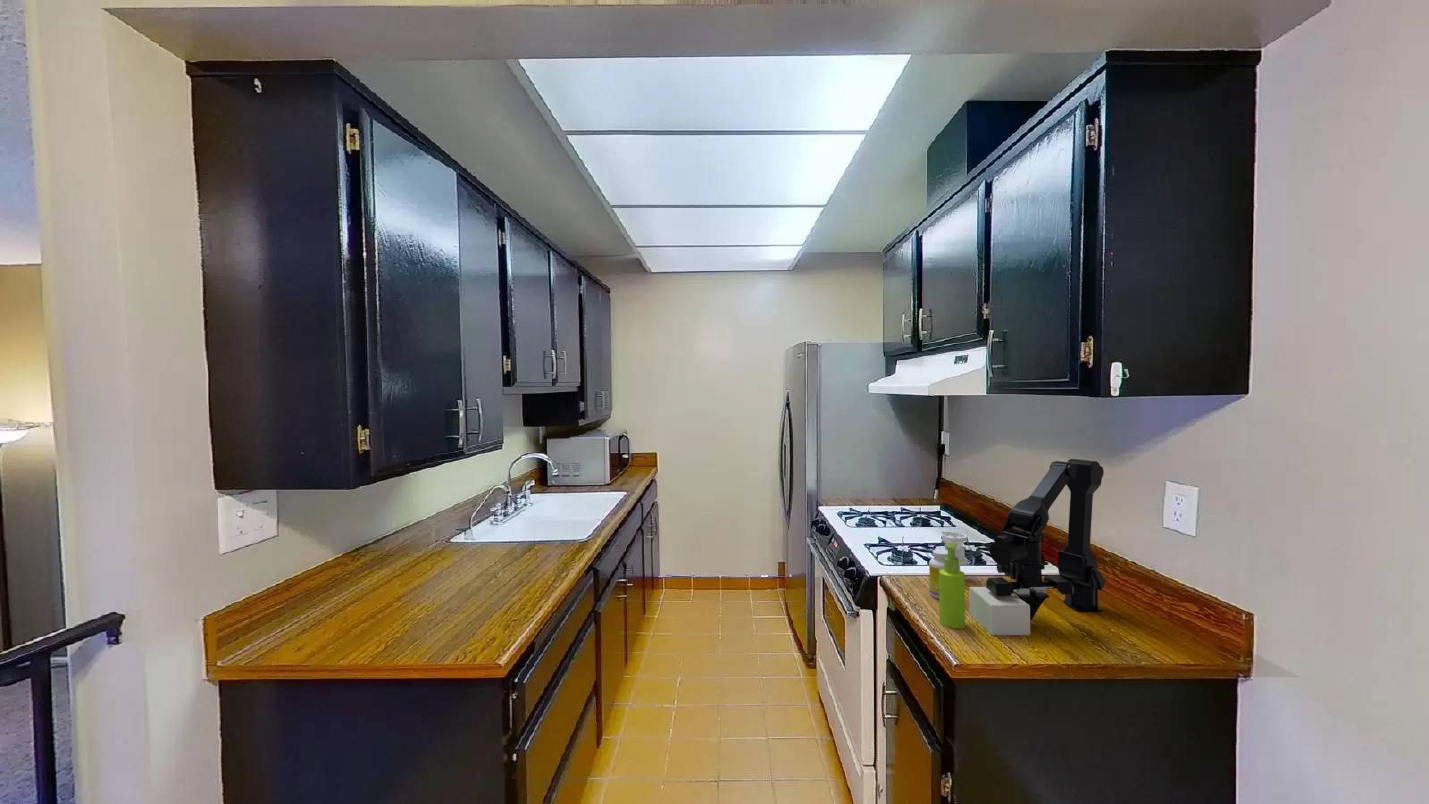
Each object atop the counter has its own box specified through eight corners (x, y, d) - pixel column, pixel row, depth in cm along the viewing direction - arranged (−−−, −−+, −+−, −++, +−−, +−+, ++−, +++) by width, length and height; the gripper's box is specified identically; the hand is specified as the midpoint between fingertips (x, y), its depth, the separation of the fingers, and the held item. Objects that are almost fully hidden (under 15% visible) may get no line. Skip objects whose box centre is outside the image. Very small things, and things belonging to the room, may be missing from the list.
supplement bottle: (940, 602, 145) (939, 556, 145) (924, 593, 152) (923, 549, 151) (960, 598, 147) (959, 553, 147) (943, 590, 154) (943, 547, 153)
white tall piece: (943, 574, 167) (942, 527, 166) (967, 577, 164) (967, 529, 163) (941, 581, 160) (941, 533, 160) (967, 584, 157) (966, 535, 157)
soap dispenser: (966, 619, 134) (965, 542, 134) (963, 630, 128) (962, 549, 128) (941, 614, 137) (940, 539, 137) (938, 625, 131) (937, 546, 131)
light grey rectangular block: (1004, 613, 137) (1004, 586, 137) (1030, 635, 125) (1029, 605, 125) (969, 613, 137) (969, 586, 137) (992, 635, 125) (991, 605, 125)
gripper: (1046, 546, 138) (1048, 605, 138) (975, 549, 139) (977, 607, 139) (1074, 560, 127) (1076, 623, 127) (996, 563, 128) (998, 626, 128)
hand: (1029, 619), depth 131 cm, fingers closed
